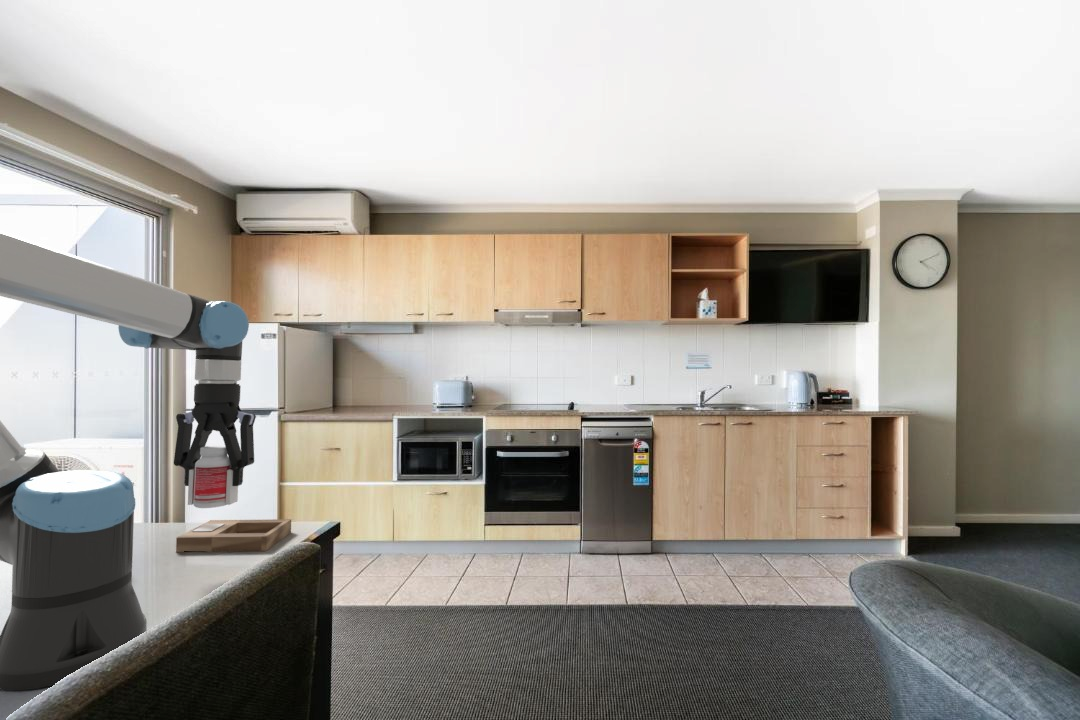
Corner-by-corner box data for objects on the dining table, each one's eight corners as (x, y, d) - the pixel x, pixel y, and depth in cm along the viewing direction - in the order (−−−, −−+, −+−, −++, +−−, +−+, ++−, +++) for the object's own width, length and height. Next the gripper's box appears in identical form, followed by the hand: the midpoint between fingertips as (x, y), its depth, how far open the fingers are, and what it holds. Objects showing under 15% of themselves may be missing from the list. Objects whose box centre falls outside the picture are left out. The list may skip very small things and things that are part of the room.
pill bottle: (235, 505, 96) (237, 447, 96) (197, 510, 91) (200, 449, 92) (226, 499, 100) (228, 444, 100) (189, 504, 96) (192, 446, 96)
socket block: (266, 550, 104) (266, 535, 104) (176, 552, 103) (176, 536, 103) (291, 532, 116) (291, 518, 116) (210, 533, 115) (210, 519, 115)
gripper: (278, 383, 101) (273, 498, 100) (179, 381, 100) (173, 498, 99) (259, 383, 94) (254, 507, 93) (152, 381, 92) (146, 508, 91)
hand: (212, 502), depth 96 cm, fingers closed on pill bottle, 6 cm apart
